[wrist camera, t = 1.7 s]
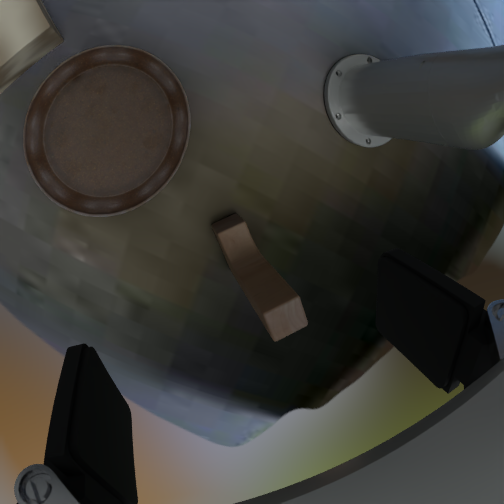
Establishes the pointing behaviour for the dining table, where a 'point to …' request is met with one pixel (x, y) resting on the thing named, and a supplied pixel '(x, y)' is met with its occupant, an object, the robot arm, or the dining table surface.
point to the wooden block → (259, 279)
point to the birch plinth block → (24, 37)
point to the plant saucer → (106, 130)
